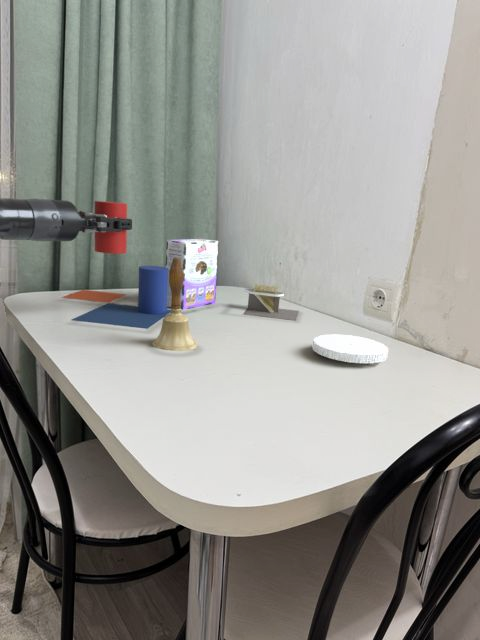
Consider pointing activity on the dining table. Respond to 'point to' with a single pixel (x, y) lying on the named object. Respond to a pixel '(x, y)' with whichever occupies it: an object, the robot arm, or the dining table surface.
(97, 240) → the red cylinder
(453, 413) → the dining table surface
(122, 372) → the dining table surface
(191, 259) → the candy box
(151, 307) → the blue cylinder
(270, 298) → the platform
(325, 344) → the plastic lid
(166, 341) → the hand bell
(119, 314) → the blue mat
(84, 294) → the red mat
